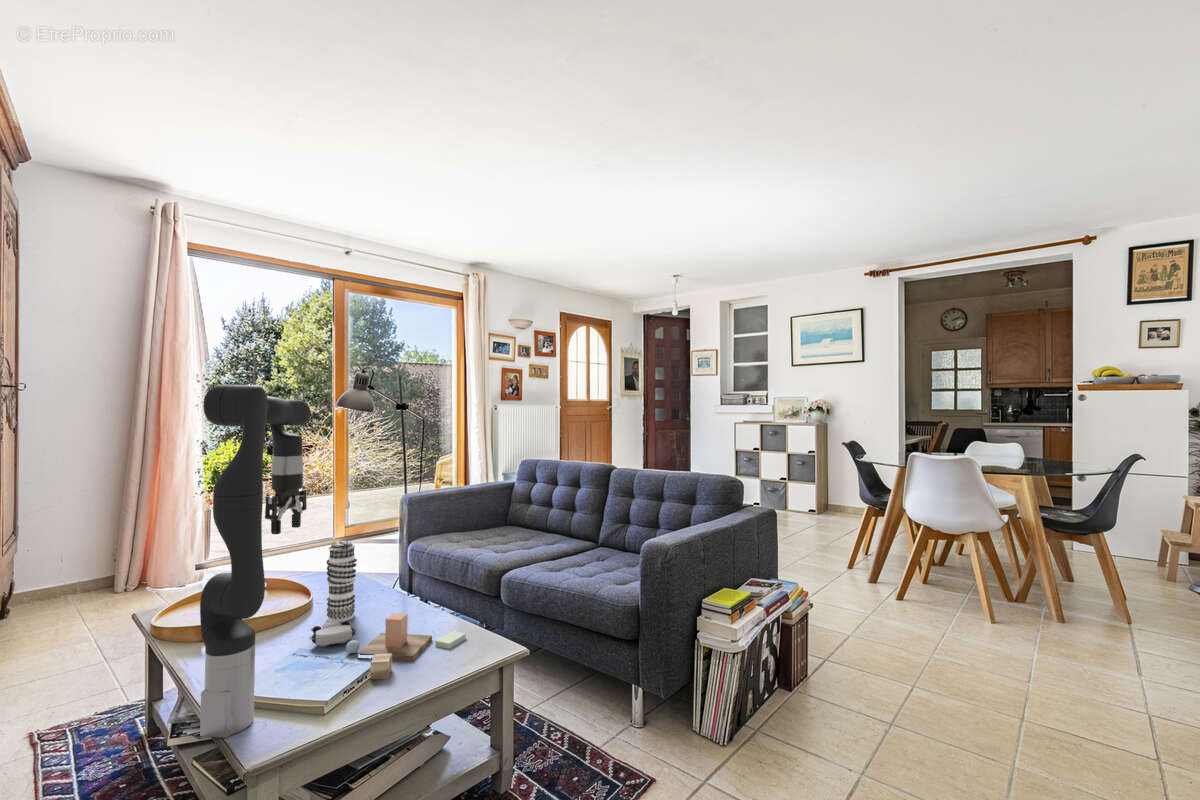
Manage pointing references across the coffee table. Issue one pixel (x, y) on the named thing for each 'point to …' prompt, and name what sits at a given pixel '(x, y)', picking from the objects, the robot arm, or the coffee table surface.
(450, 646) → the sage flat block
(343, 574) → the grey banded tower model
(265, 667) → the coffee table surface
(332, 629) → the robot toy
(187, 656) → the coffee table surface
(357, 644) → the grey ball
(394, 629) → the terracotta block
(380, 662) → the beech cube
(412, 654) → the walnut board
